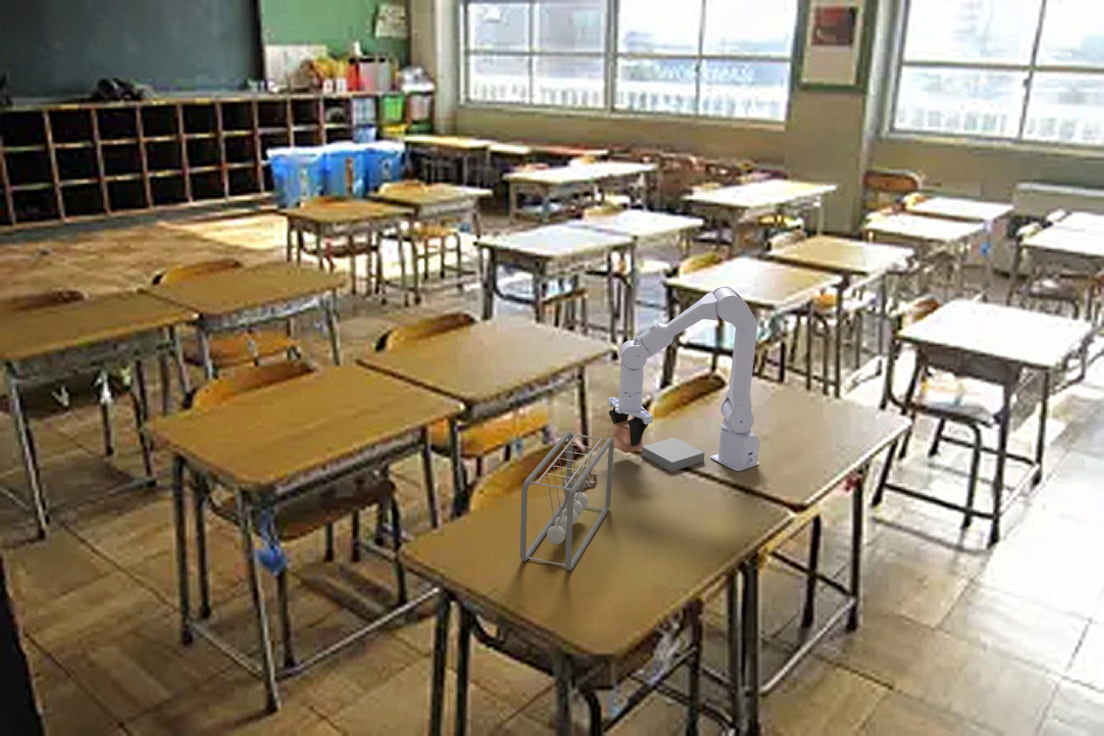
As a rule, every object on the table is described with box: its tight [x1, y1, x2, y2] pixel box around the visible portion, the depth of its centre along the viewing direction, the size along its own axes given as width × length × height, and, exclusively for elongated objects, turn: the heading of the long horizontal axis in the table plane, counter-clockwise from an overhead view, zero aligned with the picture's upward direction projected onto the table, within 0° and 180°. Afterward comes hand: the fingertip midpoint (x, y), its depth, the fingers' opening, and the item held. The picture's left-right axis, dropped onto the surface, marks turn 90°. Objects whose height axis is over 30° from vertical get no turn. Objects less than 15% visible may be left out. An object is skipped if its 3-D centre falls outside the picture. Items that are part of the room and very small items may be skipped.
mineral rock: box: [562, 466, 598, 492], centre depth 218 cm, size 11×4×8 cm
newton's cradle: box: [519, 430, 615, 572], centre depth 192 cm, size 30×10×18 cm, turn 161°
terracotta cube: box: [613, 419, 644, 454], centre depth 230 cm, size 5×5×6 cm
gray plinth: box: [641, 436, 705, 472], centre depth 232 cm, size 11×11×2 cm
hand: (627, 441), depth 230 cm, fingers closed on terracotta cube, 5 cm apart
